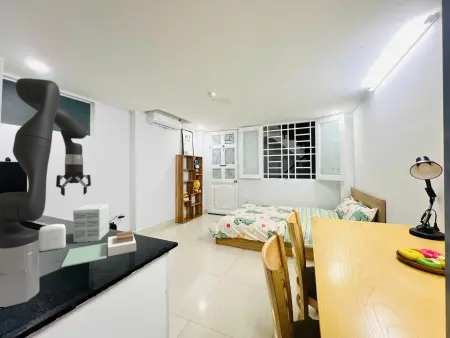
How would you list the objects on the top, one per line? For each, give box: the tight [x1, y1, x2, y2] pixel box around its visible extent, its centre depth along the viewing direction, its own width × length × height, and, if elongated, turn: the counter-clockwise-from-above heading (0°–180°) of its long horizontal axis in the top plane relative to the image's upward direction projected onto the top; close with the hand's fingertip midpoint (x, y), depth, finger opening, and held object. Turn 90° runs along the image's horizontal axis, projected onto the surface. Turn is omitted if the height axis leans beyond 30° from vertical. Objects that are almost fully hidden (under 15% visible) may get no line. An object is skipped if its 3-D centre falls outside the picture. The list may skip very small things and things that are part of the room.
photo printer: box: [38, 223, 67, 252], centre depth 100 cm, size 10×4×12 cm, turn 123°
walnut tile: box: [116, 230, 134, 244], centre depth 102 cm, size 9×7×2 cm
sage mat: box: [60, 242, 108, 268], centre depth 94 cm, size 20×16×1 cm
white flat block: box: [107, 232, 137, 257], centre depth 101 cm, size 16×12×4 cm
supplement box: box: [72, 203, 110, 243], centre depth 117 cm, size 17×13×18 cm
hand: (74, 194), depth 102 cm, fingers open, 8 cm apart
